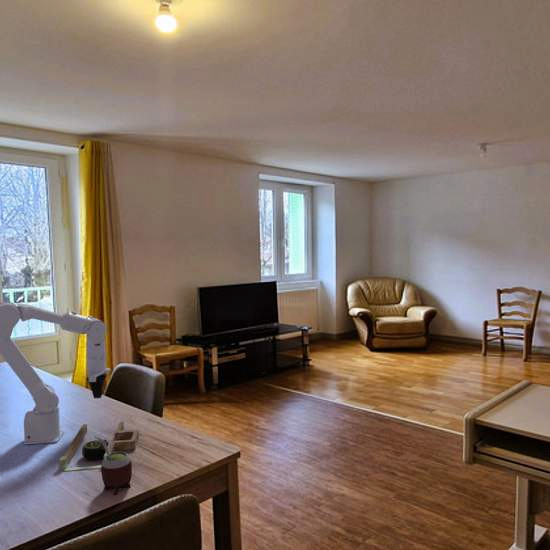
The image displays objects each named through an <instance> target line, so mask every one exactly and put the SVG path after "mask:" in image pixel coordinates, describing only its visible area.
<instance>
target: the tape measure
mask: <svg viewBox="0 0 550 550" xmlns="http://www.w3.org/2000/svg"><path fill="white" fill-rule="evenodd" d="M103 440H104V441H105V442H106V446H107V447H109V445H110V444H109V443H110V442H109V441H107V439H103ZM81 448H82V449H81V454H82V457H83V458H84V459H85V460H90V461H94V460H99V459H102V458H103V459H104V455H105V453H106V450H105V448H104V446H103V444H102V442H101V441H100V440H98V439H95V440H90V441H88V442H86V443H84V444H83V446H82V447H81Z"/></svg>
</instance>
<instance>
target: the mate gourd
mask: <svg viewBox="0 0 550 550" xmlns="http://www.w3.org/2000/svg"><path fill="white" fill-rule="evenodd" d="M94 438H95V439H96V440H100V441H101V442H102V444H103V446H104V448H105V450H106V453H107V456H106V457H105V458H104V457H103V460H102V463H101V465H102V466H101V468H100V473H101V478H102V482H103V484H104V486H103V491H109V490H112V491H113V490H114V491H113V496H117V495H118V493H119V490H120V489H121V490H122V489H129V488H131V486H132V483H131V480H132V474H133V463H132V460H131V457H130V456H129V454H128V453H126V452H125V451H115V452H114V453H111V454H109V451H108V448H109V447H108V446H106V442H105V441H104V440H105V439H102V438H101V437H99V436H94ZM130 483H131V484H130Z"/></svg>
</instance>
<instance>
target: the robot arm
mask: <svg viewBox="0 0 550 550" xmlns="http://www.w3.org/2000/svg"><path fill="white" fill-rule="evenodd" d="M71 311H72V312H70V311H67V312H65V313H63V314H62V313H59V312H55V311H50V310H48V309H43V308H41V307H37V306H34V305H30V304H24V303H18V302H16V303H14V302H12V301H2V302H0V355H1V357H2V358H3V359H4V361H5V362H6V363H7V364H8V366H9V367H10V369H12V371H13V373H14V374H15V375H16V376H17V378H18V379H19V380H20V382H22V384H23V386H25V388H26V390H27V391H28V392H29V394H30V397H32V400H33V402H34V404H35V405H34V407H33V409H32V410H28V411H26V412H25V415H24V418H23V433H24V435H23V436H24V443H23V445H25V446H26V445H38V444H51V443H58V442H59V441H60V440H61V437H62V436H63V435H64V433H65V430H61V426H60V425H61V423H60V422H61V421H60V406H59V404H60V402H59V401H60V398H59V397H58V395H57V394H56V392H55V389H54V388H53V387H52V386H51V385H49V384H46V382H44V380H43V379H42V378H41V377H40V375H39V374H38V373H37V371H36V370H35V369H34V367H33V366H32V364H31V363H30V361H28V359H27V358H26V357H25V356H24V354H23V352H22V351H21V350H20V349H19V347H18V346H17V344H16V343H15V342H14V341H13V340H12V338H11V337H12V334H13V330H14V329H15V327H16V326H17V324H18V323H19V321H20V320H21V321H22V323H23V322H26V321H29V320H31V319H32V320H37V321H42V322H46V323H49V324H50V323H51V324H56V325H59V326H60V329H61V330H62V331H67V332H71V333H75V334H79V335H86V336H85V337H86V342H85V344H86V345H85V347H86V349H85V350H86V367H87V368H86V374H87V377H86V382H87V383H88V385H89V386H90V389H91V393H92V396H93V399H101V398H102V396H103V391H104V385H105V383H106V382H105V381H106V378H107V377H108V374H107V373H109V372H111V368H110V367H108V368H107V358H106V357H107V355H106V354H107V351H106V339H105V338H106V337H105V336H106V334H107V331H108V328H107V326H106V324H105V322H103V321H102V320H100V319H99V318H96V317H93V316H92V315H88V316H85V315H82V314H79V313H78V312H77V311H74V310H71Z"/></svg>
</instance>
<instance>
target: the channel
mask: <svg viewBox="0 0 550 550" xmlns="http://www.w3.org/2000/svg"><path fill="white" fill-rule="evenodd" d="M124 422H125V421H119V422H118V425H117V427H116V429H115V432H114V440H111V441H110V442H109V443H110V444H109V445H108V447H107V448H108V451H109V454H111V453H114V452H123V451H130V450H131V451H132V450H133V451H134V450H136V449H137V444H138V442H139V438H140V432H139V429H130V430H129V429H128V430H125V425H124V424H125V423H124ZM87 433H88V424H87V423H84V424H82V425H81V427H80V428H79V430H78V432H77V433H76V435H74V436H75V437H74V438H73V439H72V441H71V443H70V444H69V446H68V448H67V449H66V451H65V452H64V454H63V455H62V456H61V457H60V458H59V471H64V472H71V471H84V470H85V471H86V470H95V469H101V466H102V464H101V465H90V466H89V465H88V466H79V467H68V466H69V464H70V462H71V460H72V458H73V457H74V456H75V454H76V452H77V450H78V448H79V447H80V446H81V443H82V442H83V440H84V438H85V437H86V434H87ZM106 456H107V453H105V455H104V457H103V459H104V458H105V457H106Z"/></svg>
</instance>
